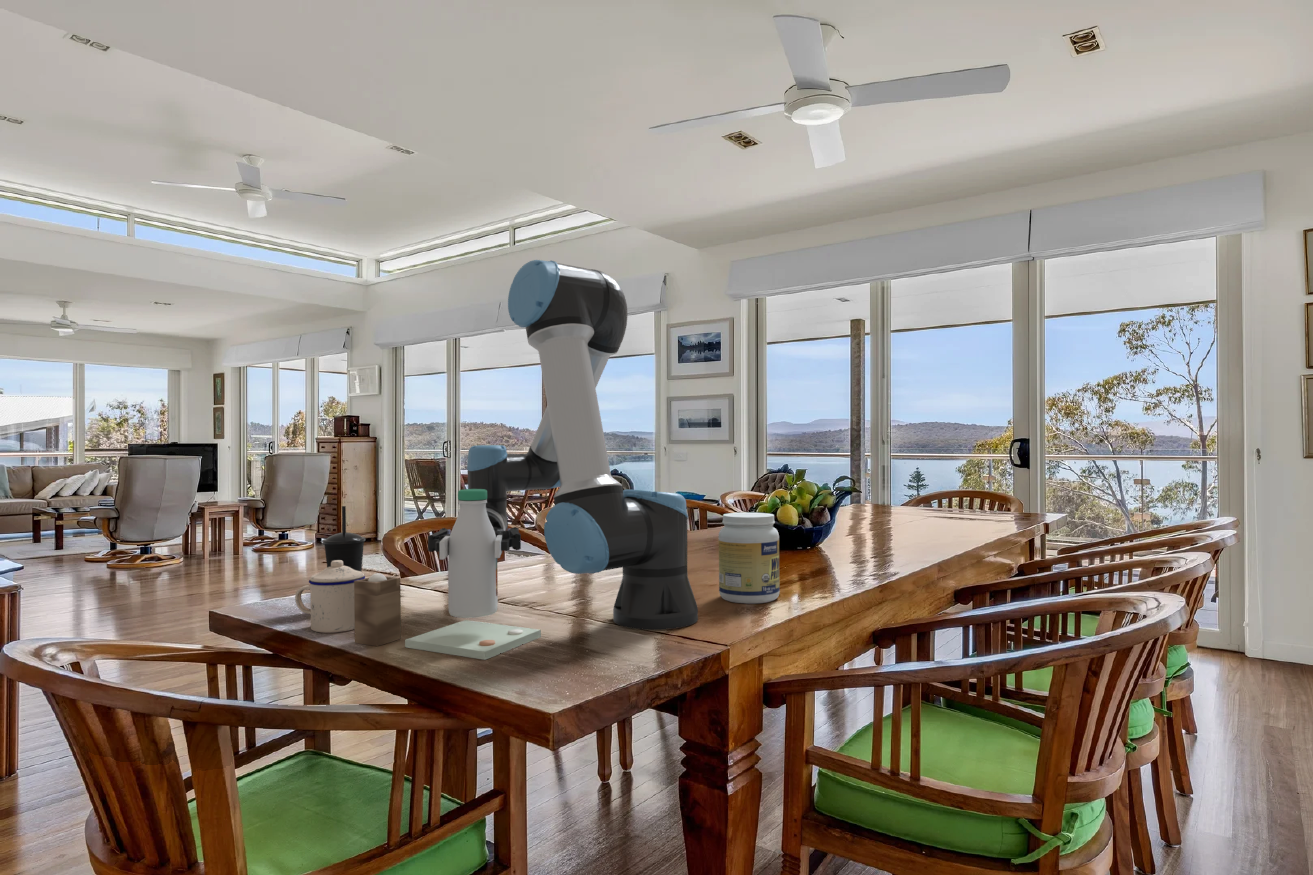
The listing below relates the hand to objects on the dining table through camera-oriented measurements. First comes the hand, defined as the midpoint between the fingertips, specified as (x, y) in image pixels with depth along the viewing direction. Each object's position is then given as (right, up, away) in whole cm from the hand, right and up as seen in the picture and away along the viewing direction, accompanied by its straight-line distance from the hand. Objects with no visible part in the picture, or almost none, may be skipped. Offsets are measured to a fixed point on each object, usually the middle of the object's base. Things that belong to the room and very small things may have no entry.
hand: (469, 550), depth 116 cm
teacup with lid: (-28, -16, +16) cm, 36 cm away
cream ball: (-17, -8, +6) cm, 19 cm away
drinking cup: (-31, -16, +29) cm, 46 cm away
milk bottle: (-1, -11, +5) cm, 12 cm away
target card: (0, -16, +5) cm, 16 cm away
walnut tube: (-16, -16, +6) cm, 24 cm away
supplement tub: (+48, -15, +35) cm, 61 cm away
